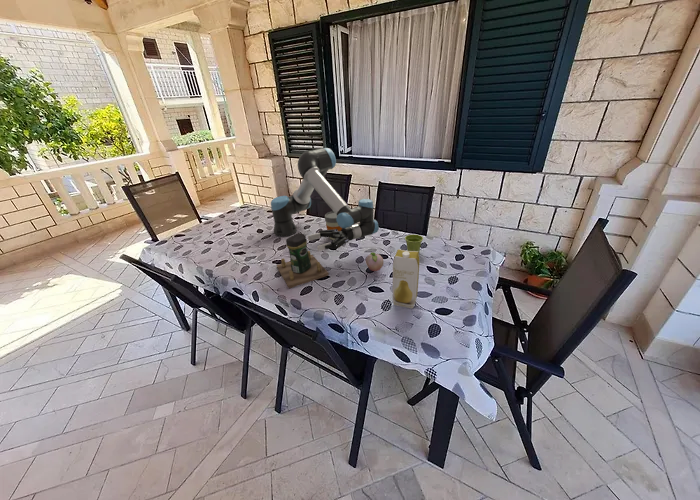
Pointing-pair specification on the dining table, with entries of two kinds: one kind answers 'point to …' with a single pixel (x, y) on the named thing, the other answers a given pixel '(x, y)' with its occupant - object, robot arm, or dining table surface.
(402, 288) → the juice carton
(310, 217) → the dining table surface
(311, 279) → the standoff base
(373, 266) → the decorative fruit
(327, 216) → the reusable coffee cup
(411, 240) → the plant pot
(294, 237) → the coffee jar
